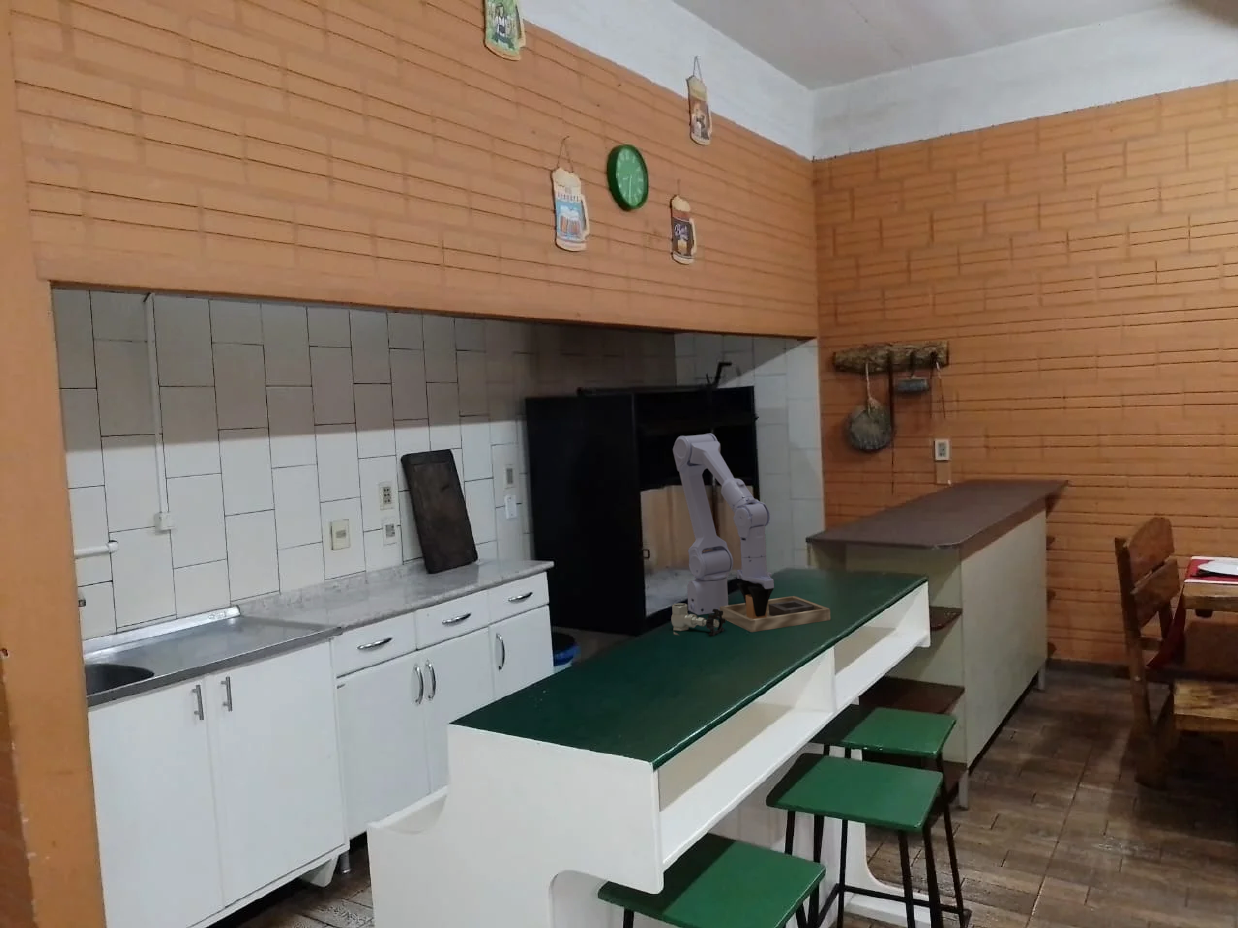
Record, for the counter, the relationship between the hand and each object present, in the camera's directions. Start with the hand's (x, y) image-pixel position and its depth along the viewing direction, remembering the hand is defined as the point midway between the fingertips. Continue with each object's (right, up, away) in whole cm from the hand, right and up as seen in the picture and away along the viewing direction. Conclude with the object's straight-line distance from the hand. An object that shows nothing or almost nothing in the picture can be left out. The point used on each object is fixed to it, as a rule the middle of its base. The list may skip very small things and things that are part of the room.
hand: (756, 614), depth 214 cm
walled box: (+4, -2, +2) cm, 5 cm away
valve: (-14, -4, -5) cm, 16 cm away
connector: (0, -2, 0) cm, 2 cm away
